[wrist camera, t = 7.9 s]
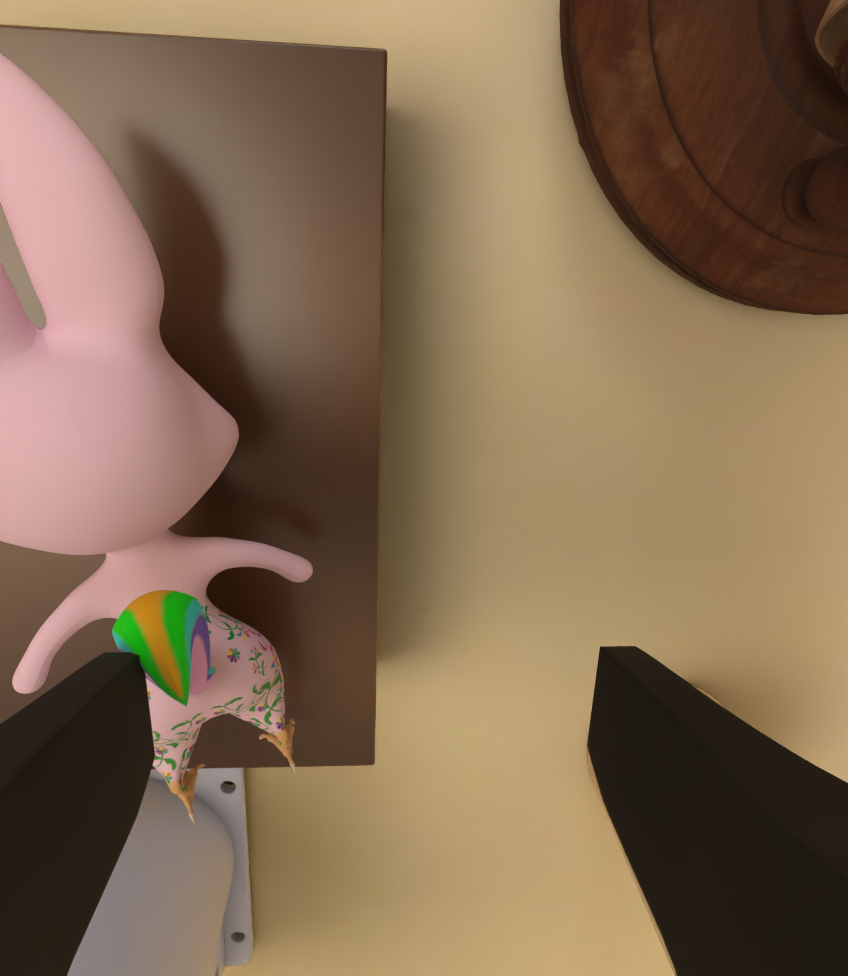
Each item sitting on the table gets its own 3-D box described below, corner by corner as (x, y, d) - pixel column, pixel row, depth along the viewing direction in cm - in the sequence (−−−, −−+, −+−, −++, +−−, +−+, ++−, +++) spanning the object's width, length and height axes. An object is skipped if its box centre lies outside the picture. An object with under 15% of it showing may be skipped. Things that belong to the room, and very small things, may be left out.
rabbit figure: (327, 660, 20) (134, 39, 12) (416, 824, 15) (182, -46, 7) (100, 762, 18) (-292, 97, 10) (116, 992, 13) (-608, 35, 5)
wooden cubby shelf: (374, 663, 23) (374, 766, 19) (37, 666, 23) (-51, 774, 18) (383, 102, 18) (387, 47, 13) (-57, 77, 17) (-219, 9, 12)
